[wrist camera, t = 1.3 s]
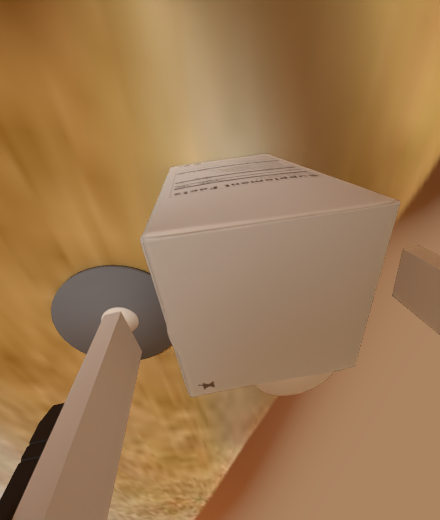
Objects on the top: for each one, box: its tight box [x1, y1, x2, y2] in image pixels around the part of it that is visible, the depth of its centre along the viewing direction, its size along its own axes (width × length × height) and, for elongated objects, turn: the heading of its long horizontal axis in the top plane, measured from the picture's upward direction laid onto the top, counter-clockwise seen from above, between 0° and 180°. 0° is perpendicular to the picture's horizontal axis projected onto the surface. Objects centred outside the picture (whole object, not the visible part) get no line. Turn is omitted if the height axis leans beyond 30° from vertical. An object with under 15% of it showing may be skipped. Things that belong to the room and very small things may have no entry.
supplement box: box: [140, 154, 400, 397], centre depth 16 cm, size 9×9×15 cm
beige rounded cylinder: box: [255, 372, 333, 396], centre depth 25 cm, size 8×8×9 cm
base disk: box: [51, 265, 171, 360], centre depth 27 cm, size 14×14×1 cm
